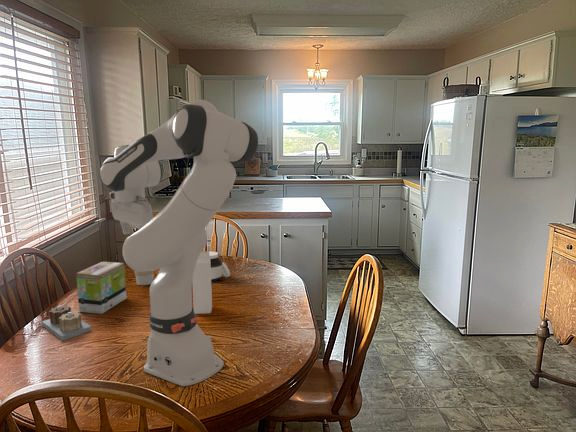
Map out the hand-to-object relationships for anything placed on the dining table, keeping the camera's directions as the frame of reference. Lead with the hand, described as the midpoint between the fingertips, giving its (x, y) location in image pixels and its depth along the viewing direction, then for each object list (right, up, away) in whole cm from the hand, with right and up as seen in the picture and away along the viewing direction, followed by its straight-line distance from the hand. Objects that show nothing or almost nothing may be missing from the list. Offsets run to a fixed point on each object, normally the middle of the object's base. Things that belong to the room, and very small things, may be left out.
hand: (133, 236), depth 140 cm
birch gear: (-18, -29, -5) cm, 35 cm away
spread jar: (+20, -21, +45) cm, 53 cm away
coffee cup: (-10, -22, +40) cm, 46 cm away
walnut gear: (-24, -28, 0) cm, 37 cm away
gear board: (-21, -30, -2) cm, 37 cm away
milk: (+21, -28, +12) cm, 36 cm away
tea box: (-17, -27, +16) cm, 36 cm away
